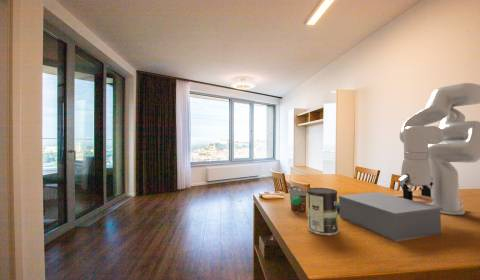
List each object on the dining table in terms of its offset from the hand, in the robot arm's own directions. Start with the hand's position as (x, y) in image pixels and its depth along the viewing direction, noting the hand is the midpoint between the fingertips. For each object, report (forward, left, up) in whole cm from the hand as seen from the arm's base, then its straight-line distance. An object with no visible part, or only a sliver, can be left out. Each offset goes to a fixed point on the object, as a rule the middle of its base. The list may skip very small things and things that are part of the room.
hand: (417, 199), depth 85 cm
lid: (+13, 0, 0) cm, 13 cm away
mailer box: (+17, 0, -8) cm, 19 cm away
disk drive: (+23, -22, -9) cm, 33 cm away
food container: (+39, -27, -8) cm, 48 cm away
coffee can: (+42, -3, -8) cm, 43 cm away
